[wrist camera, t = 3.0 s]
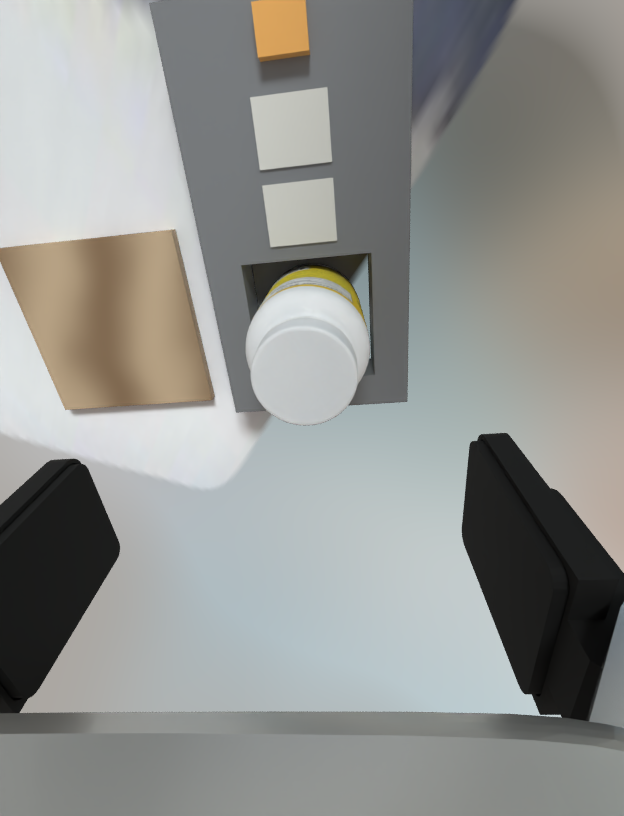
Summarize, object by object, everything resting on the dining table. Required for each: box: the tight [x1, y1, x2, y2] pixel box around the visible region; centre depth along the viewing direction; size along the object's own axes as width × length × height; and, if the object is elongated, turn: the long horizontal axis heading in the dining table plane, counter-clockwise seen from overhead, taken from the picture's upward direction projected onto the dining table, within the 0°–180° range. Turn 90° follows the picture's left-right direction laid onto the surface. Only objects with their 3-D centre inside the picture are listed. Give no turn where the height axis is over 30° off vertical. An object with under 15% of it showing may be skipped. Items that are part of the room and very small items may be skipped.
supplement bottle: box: [246, 264, 370, 425], centre depth 19 cm, size 5×5×10 cm
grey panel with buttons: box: [149, 0, 413, 412], centre depth 20 cm, size 10×18×3 cm, turn 6°
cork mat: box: [0, 230, 214, 410], centre depth 24 cm, size 10×10×1 cm
